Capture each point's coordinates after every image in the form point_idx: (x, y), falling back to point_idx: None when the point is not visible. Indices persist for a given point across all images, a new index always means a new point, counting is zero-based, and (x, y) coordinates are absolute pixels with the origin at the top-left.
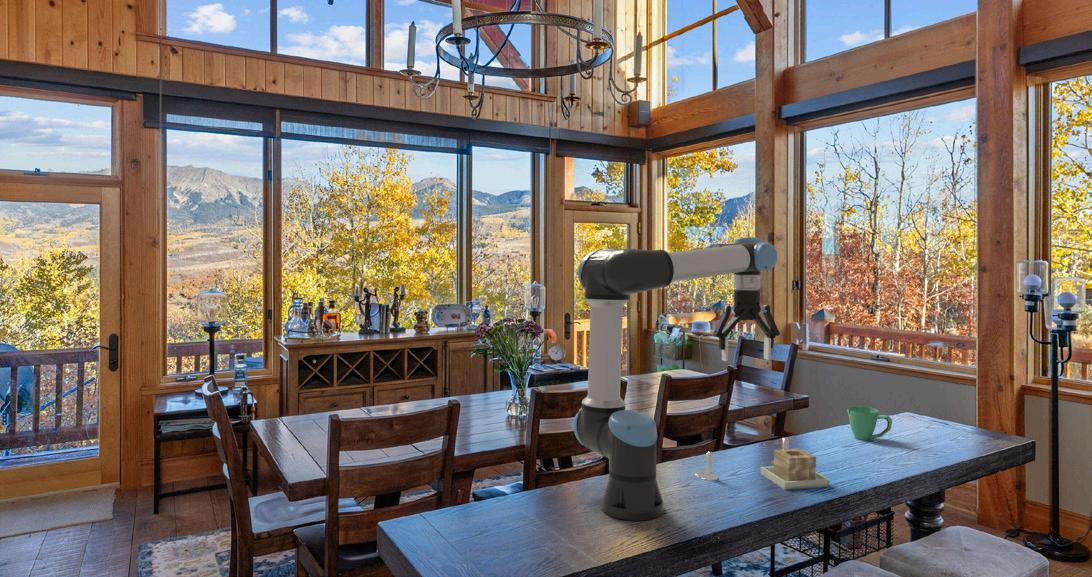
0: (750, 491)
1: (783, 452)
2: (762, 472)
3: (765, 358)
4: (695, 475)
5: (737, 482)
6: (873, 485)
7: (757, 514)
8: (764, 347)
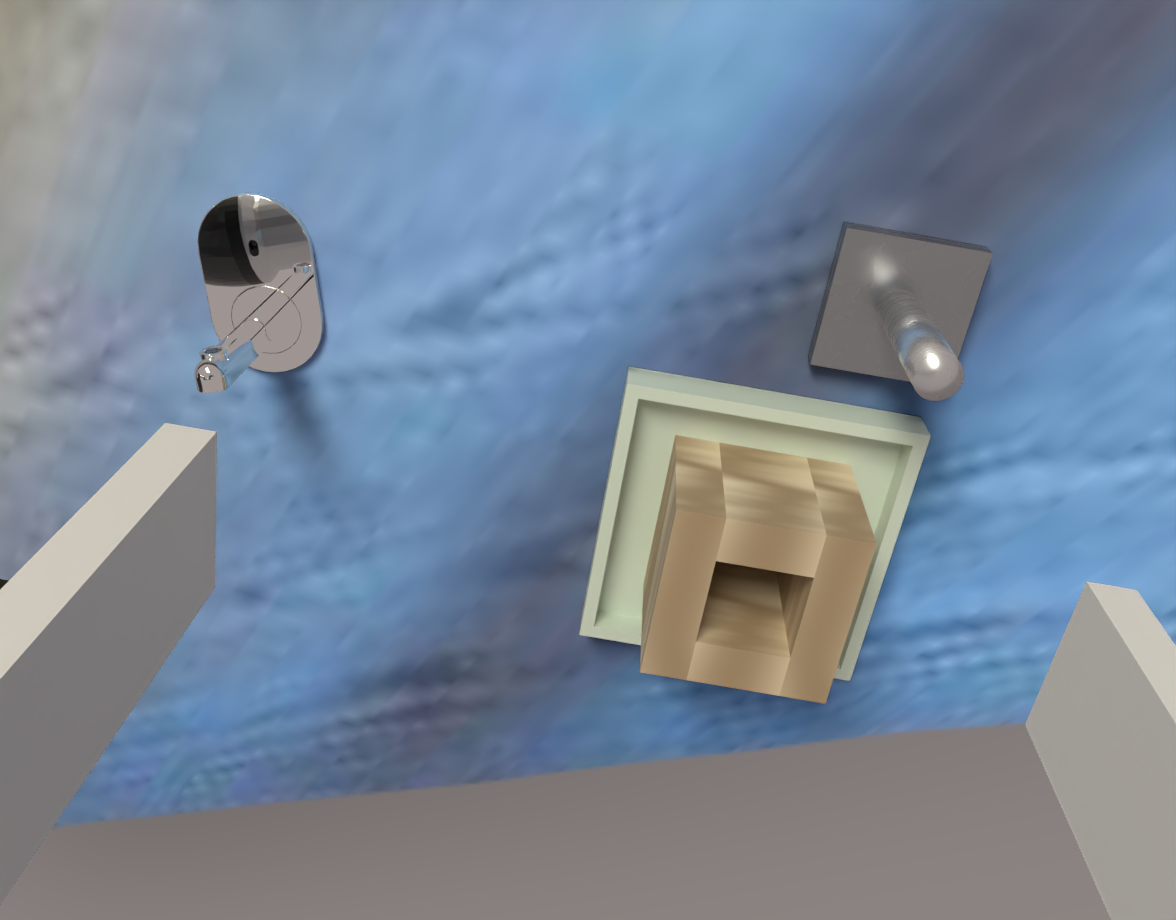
0: (391, 568)
1: (698, 571)
2: (623, 395)
3: (1067, 644)
4: (201, 252)
5: (399, 438)
6: None
7: (266, 776)
8: (1173, 758)
